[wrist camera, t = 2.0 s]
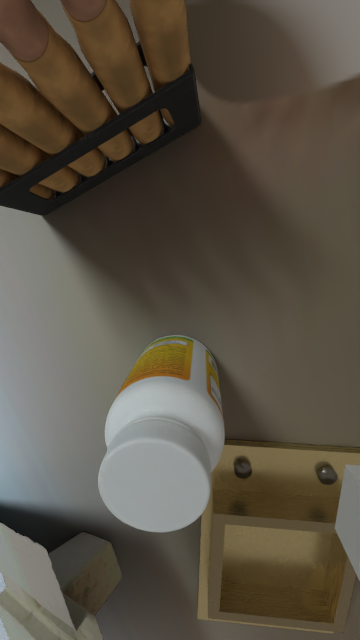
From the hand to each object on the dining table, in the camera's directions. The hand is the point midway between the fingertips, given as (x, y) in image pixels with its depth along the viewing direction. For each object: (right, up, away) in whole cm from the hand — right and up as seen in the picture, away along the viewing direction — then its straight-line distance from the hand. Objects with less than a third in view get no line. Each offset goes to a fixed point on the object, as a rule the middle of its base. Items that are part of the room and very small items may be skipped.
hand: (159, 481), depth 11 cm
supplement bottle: (+1, +3, +9) cm, 9 cm away
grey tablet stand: (-9, -13, +14) cm, 22 cm away
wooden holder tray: (+8, -11, +11) cm, 18 cm away
